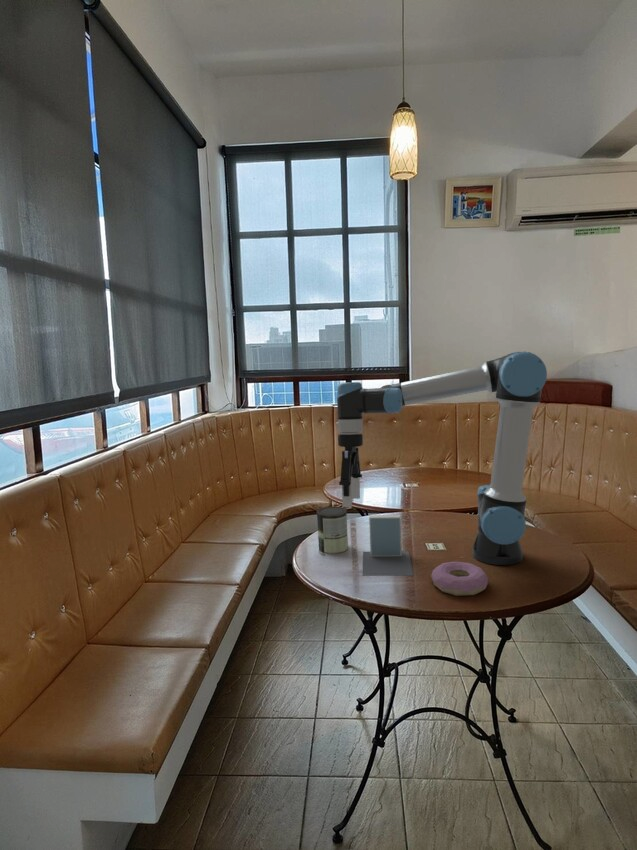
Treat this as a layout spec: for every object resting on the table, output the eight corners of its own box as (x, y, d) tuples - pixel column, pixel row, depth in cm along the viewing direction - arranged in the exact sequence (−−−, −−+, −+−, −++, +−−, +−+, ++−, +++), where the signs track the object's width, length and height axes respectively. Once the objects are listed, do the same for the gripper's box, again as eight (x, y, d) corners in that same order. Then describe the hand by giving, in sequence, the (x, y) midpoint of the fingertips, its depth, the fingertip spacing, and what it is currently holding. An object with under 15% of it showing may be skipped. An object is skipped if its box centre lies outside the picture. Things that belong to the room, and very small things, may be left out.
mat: (408, 553, 167) (408, 551, 167) (413, 577, 148) (413, 575, 148) (363, 553, 169) (363, 551, 169) (362, 578, 150) (362, 575, 150)
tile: (401, 553, 166) (400, 514, 164) (401, 556, 163) (400, 517, 161) (370, 553, 167) (369, 515, 165) (370, 556, 164) (369, 517, 162)
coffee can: (312, 552, 172) (310, 512, 171) (330, 543, 180) (329, 504, 178) (336, 558, 166) (334, 517, 164) (354, 548, 174) (352, 509, 172)
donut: (456, 570, 153) (455, 554, 152) (499, 587, 140) (499, 570, 139) (420, 585, 144) (419, 568, 143) (463, 605, 131) (463, 586, 131)
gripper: (346, 431, 166) (347, 494, 167) (328, 436, 142) (330, 510, 143) (368, 430, 165) (369, 495, 165) (354, 435, 140) (356, 511, 141)
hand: (351, 502), depth 154 cm, fingers open, 13 cm apart
